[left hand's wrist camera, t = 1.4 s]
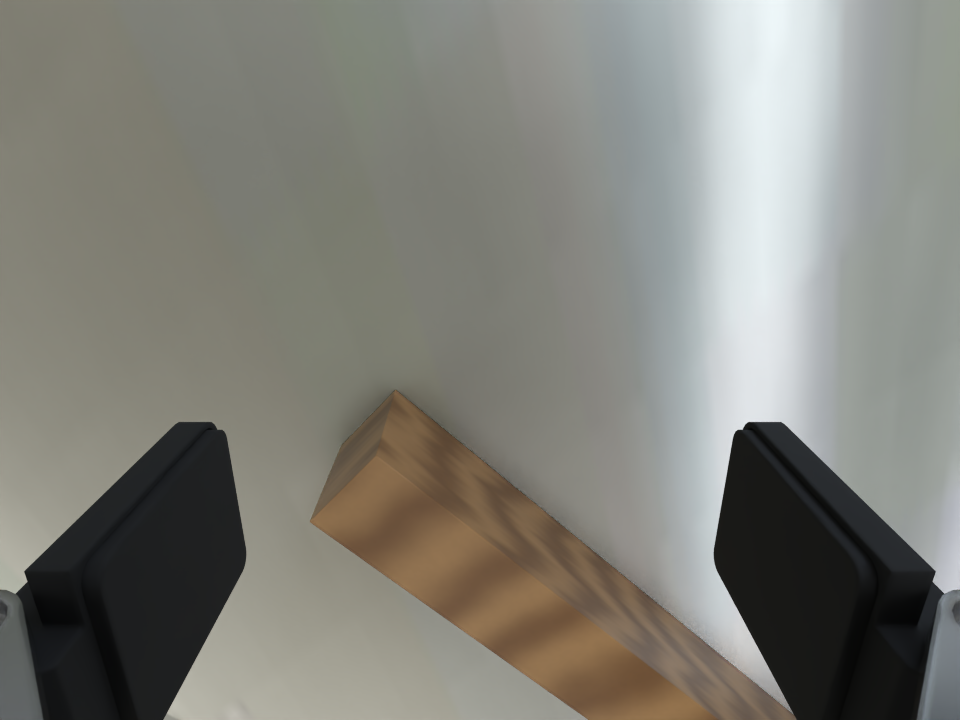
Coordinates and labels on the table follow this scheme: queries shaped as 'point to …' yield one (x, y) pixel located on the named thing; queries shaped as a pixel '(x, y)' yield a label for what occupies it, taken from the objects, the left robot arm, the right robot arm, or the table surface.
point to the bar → (520, 578)
